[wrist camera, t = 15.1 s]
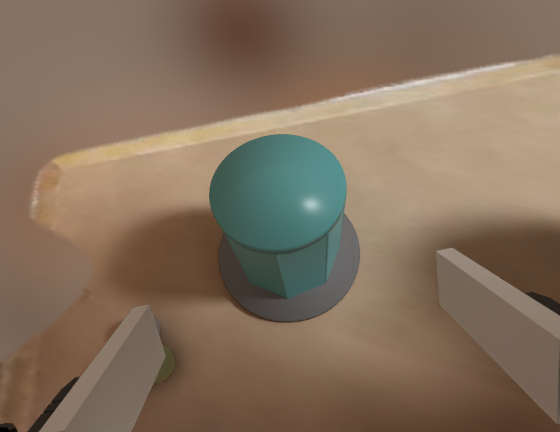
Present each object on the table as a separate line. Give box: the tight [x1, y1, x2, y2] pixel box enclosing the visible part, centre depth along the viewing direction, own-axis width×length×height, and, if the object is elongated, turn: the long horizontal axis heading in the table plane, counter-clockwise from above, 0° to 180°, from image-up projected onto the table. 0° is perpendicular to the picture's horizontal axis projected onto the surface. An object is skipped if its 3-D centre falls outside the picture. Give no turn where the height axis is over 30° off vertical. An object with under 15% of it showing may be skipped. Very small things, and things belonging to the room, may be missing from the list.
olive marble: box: [153, 345, 175, 384], centre depth 29 cm, size 3×3×3 cm
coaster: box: [219, 214, 360, 322], centre depth 34 cm, size 14×14×1 cm
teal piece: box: [209, 134, 347, 299], centre depth 29 cm, size 10×10×11 cm
